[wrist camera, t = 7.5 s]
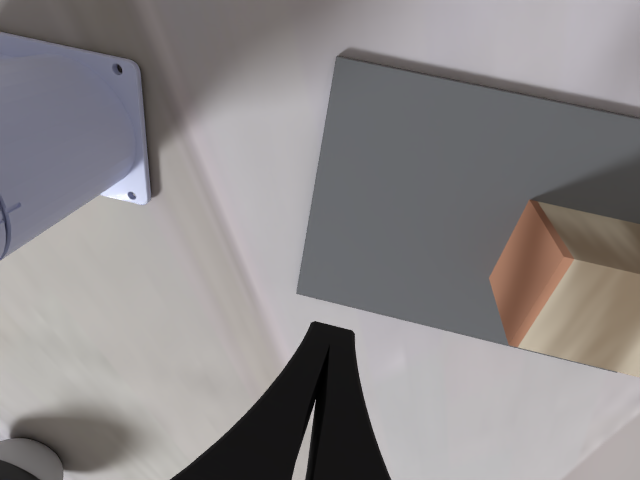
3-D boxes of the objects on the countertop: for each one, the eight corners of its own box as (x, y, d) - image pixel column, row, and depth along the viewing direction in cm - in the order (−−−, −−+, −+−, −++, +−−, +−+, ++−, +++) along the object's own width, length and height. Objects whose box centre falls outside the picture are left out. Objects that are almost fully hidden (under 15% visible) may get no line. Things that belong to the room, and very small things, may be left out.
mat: (297, 289, 25) (296, 293, 25) (337, 55, 18) (336, 56, 17) (613, 367, 24) (616, 372, 24) (803, 151, 17) (811, 155, 16)
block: (508, 345, 18) (714, 395, 17) (563, 256, 15) (811, 313, 15) (488, 278, 22) (654, 317, 21) (529, 199, 19) (720, 242, 19)
